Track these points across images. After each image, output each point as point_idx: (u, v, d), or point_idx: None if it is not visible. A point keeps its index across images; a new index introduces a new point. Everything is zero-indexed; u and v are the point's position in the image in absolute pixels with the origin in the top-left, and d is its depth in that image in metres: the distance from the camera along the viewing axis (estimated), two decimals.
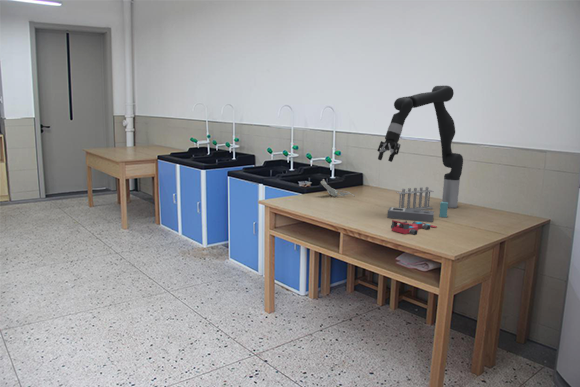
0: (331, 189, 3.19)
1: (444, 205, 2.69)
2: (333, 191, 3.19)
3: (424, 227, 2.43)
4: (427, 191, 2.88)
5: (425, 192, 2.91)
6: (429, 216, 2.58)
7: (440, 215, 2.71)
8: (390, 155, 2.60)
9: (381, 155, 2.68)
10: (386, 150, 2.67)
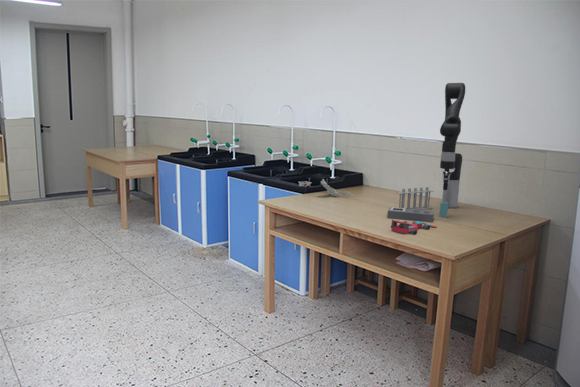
0: (331, 189, 3.19)
1: (444, 205, 2.69)
2: (333, 191, 3.20)
3: (424, 227, 2.43)
4: (427, 191, 2.88)
5: (425, 192, 2.91)
6: (429, 216, 2.58)
7: (440, 215, 2.71)
8: (443, 184, 2.65)
9: None
10: (448, 177, 2.71)
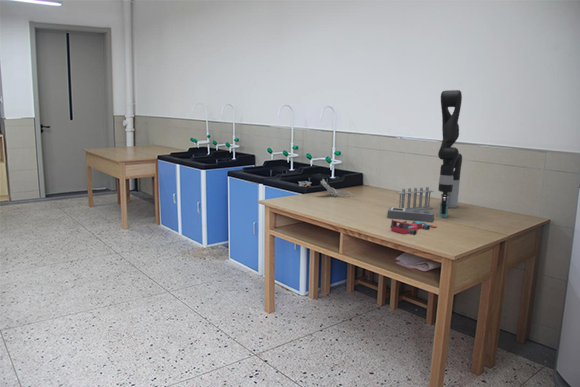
0: (331, 189, 3.20)
1: (444, 204, 2.69)
2: (333, 191, 3.20)
3: (424, 227, 2.43)
4: (427, 191, 2.88)
5: (425, 192, 2.91)
6: (429, 216, 2.58)
7: (440, 215, 2.71)
8: None
9: None
10: None
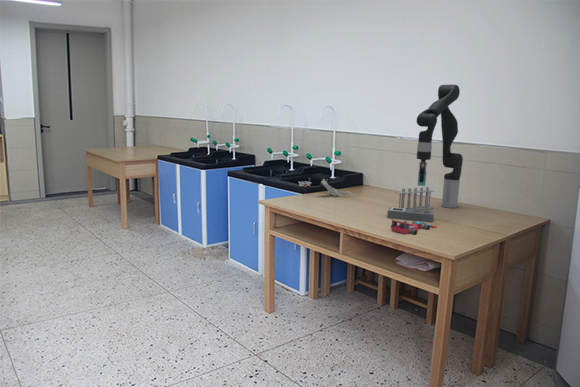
0: (331, 189, 3.20)
1: None
2: (333, 191, 3.20)
3: (424, 227, 2.43)
4: (427, 191, 2.89)
5: (426, 192, 2.91)
6: (429, 216, 2.58)
7: (418, 184, 2.65)
8: None
9: None
10: None
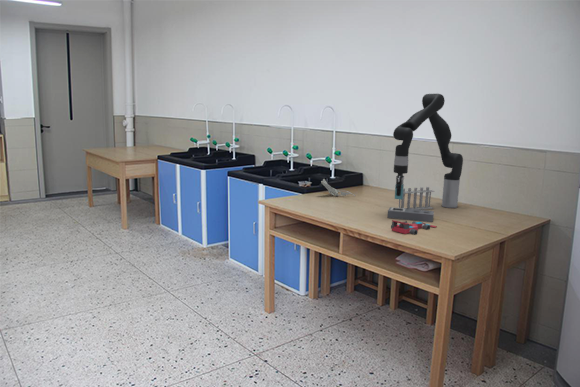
0: (332, 189, 3.20)
1: None
2: (334, 191, 3.21)
3: (424, 227, 2.43)
4: (428, 191, 2.89)
5: (426, 192, 2.91)
6: (429, 216, 2.58)
7: (395, 197, 2.65)
8: None
9: None
10: None
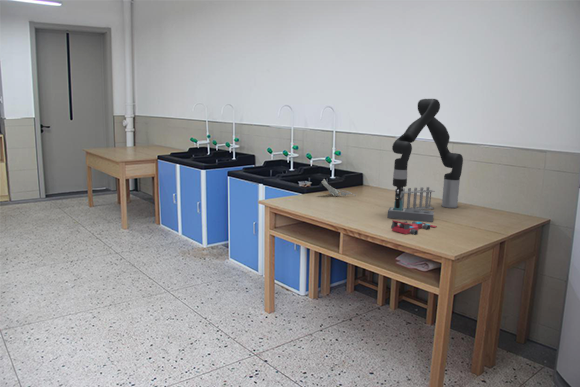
0: (332, 189, 3.20)
1: None
2: (334, 191, 3.21)
3: (424, 227, 2.43)
4: (428, 191, 2.88)
5: (426, 192, 2.91)
6: (429, 216, 2.58)
7: None
8: None
9: None
10: (401, 195, 2.69)
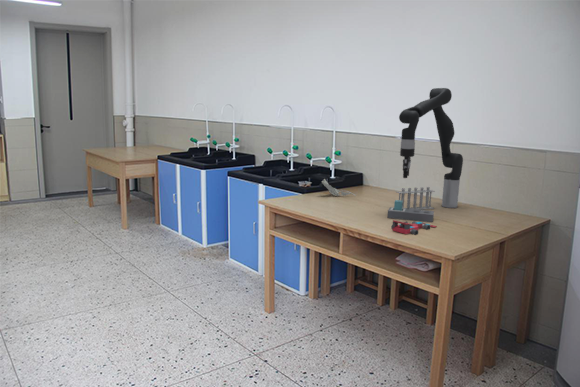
0: (332, 189, 3.21)
1: (398, 203, 2.65)
2: (334, 191, 3.21)
3: (424, 227, 2.43)
4: (428, 191, 2.89)
5: (426, 192, 2.91)
6: (429, 216, 2.58)
7: None
8: (403, 172, 2.62)
9: None
10: (409, 165, 2.67)
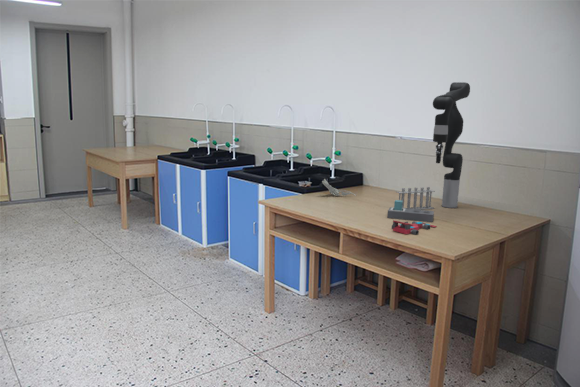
0: (332, 189, 3.21)
1: (398, 203, 2.65)
2: (334, 191, 3.21)
3: (424, 227, 2.43)
4: (428, 191, 2.89)
5: (426, 192, 2.91)
6: (429, 216, 2.58)
7: None
8: (436, 157, 2.66)
9: None
10: (441, 151, 2.71)
